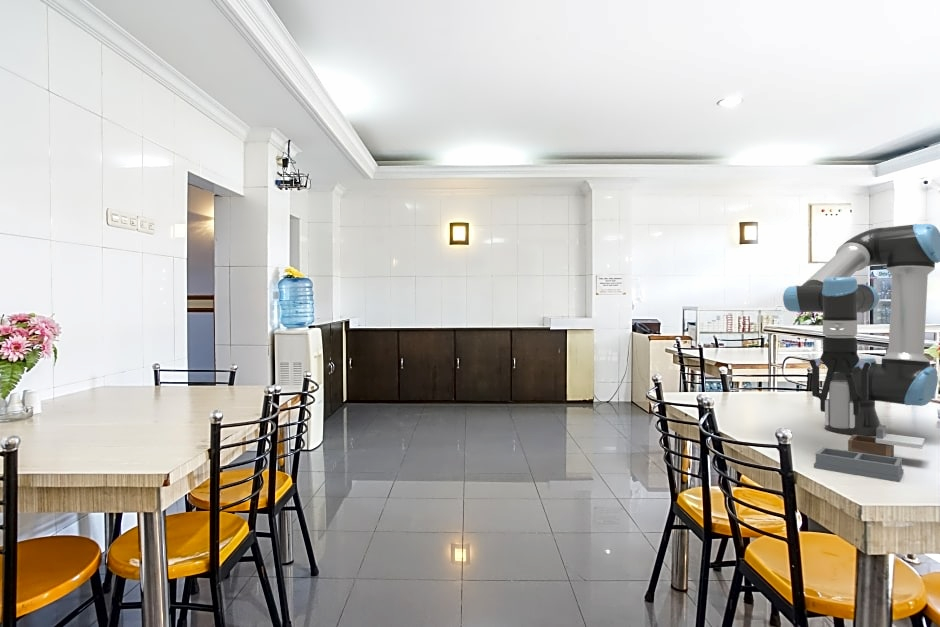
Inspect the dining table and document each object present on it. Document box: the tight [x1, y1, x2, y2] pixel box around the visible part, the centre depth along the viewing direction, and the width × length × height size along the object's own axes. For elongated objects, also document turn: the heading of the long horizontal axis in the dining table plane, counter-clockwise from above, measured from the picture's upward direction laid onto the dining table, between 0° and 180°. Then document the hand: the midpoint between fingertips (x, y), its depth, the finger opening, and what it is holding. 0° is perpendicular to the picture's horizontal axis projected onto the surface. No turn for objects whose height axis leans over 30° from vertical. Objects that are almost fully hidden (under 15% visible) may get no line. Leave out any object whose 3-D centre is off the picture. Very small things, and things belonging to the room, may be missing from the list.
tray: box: [847, 435, 895, 458], centre depth 153 cm, size 9×9×4 cm
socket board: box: [813, 447, 905, 483], centre depth 140 cm, size 9×17×4 cm, turn 48°
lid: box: [875, 424, 926, 450], centre depth 149 cm, size 9×9×3 cm
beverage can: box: [828, 380, 851, 429], centre depth 150 cm, size 5×5×12 cm
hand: (839, 425), depth 151 cm, fingers closed on beverage can, 5 cm apart
